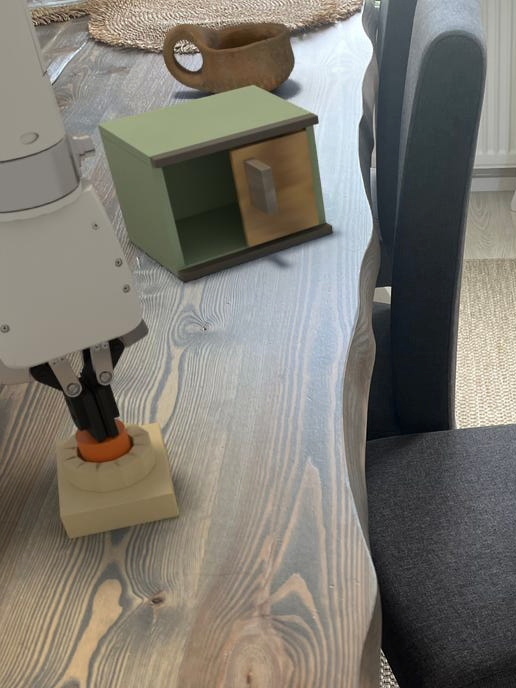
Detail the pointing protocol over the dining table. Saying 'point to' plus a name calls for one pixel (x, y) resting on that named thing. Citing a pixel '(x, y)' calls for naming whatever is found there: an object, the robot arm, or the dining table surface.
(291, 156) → the cupboard door
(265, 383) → the dining table surface
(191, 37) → the brown clay cup
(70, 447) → the switch block
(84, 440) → the light button
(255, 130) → the cupboard
